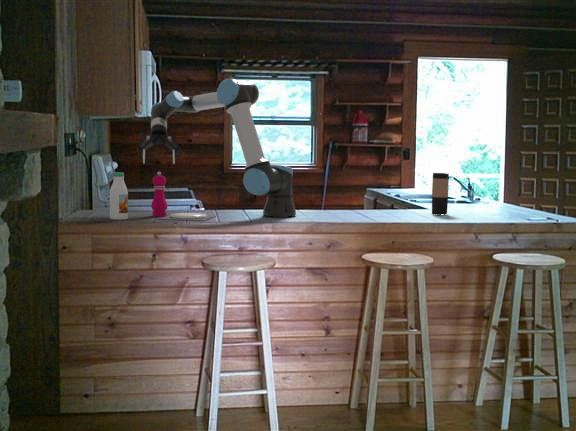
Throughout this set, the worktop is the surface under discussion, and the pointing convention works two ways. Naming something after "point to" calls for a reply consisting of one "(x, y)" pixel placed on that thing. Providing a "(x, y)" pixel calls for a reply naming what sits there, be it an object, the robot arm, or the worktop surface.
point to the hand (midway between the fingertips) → (158, 161)
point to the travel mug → (440, 193)
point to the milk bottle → (118, 198)
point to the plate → (188, 215)
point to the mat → (188, 219)
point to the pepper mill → (159, 196)
